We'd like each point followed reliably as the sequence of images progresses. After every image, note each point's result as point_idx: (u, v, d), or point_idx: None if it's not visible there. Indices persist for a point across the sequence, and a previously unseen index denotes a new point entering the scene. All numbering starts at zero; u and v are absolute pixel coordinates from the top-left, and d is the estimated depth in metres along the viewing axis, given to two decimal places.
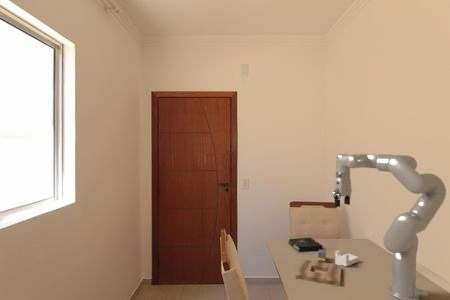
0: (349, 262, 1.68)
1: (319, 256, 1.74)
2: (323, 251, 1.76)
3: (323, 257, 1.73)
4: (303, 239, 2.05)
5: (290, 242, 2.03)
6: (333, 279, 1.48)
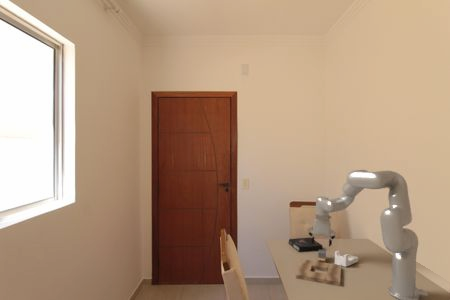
0: (349, 262, 1.68)
1: (319, 256, 1.74)
2: (323, 251, 1.76)
3: (323, 257, 1.73)
4: (303, 239, 2.05)
5: (290, 242, 2.03)
6: (333, 279, 1.48)
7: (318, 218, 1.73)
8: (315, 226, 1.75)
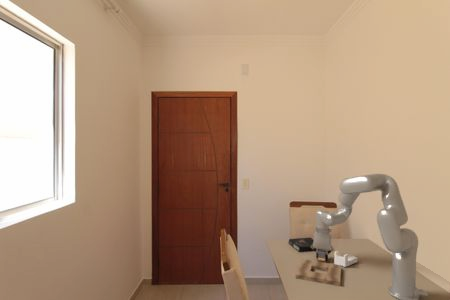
0: (348, 262, 1.68)
1: (319, 256, 1.74)
2: (323, 251, 1.76)
3: (323, 257, 1.73)
4: (303, 239, 2.05)
5: (290, 242, 2.03)
6: (333, 279, 1.48)
7: (318, 231, 1.73)
8: (315, 239, 1.75)
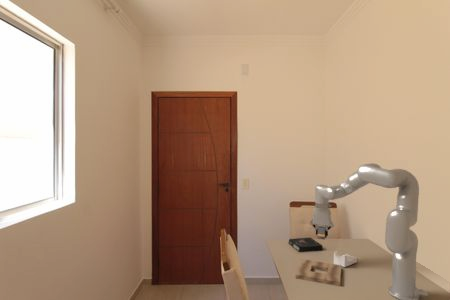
0: (347, 263, 1.67)
1: (318, 232, 1.68)
2: (323, 227, 1.71)
3: (323, 233, 1.68)
4: (303, 239, 2.05)
5: (290, 242, 2.03)
6: (333, 279, 1.48)
7: (317, 207, 1.68)
8: (315, 215, 1.70)
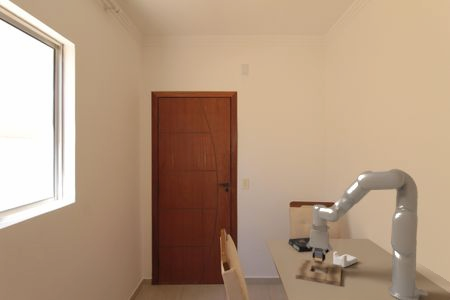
0: (347, 263, 1.67)
1: (316, 256, 1.57)
2: (320, 250, 1.59)
3: (320, 257, 1.56)
4: (303, 239, 2.05)
5: (290, 242, 2.03)
6: (333, 279, 1.48)
7: (315, 228, 1.57)
8: (312, 237, 1.58)
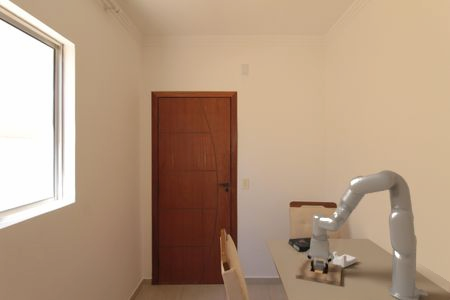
0: (347, 263, 1.67)
1: (316, 268, 1.57)
2: (320, 262, 1.59)
3: (320, 269, 1.56)
4: (303, 239, 2.05)
5: (290, 242, 2.03)
6: (333, 279, 1.48)
7: (315, 238, 1.57)
8: (312, 247, 1.58)
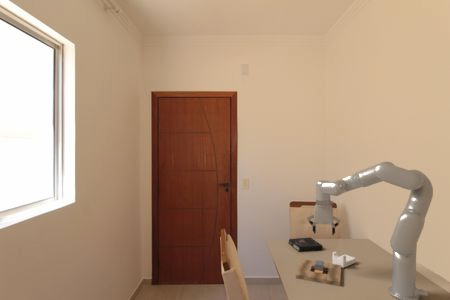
0: (346, 263, 1.67)
1: (316, 268, 1.57)
2: (320, 262, 1.59)
3: (320, 269, 1.56)
4: (303, 239, 2.05)
5: (290, 242, 2.03)
6: (333, 279, 1.48)
7: (319, 204, 1.57)
8: (316, 213, 1.58)
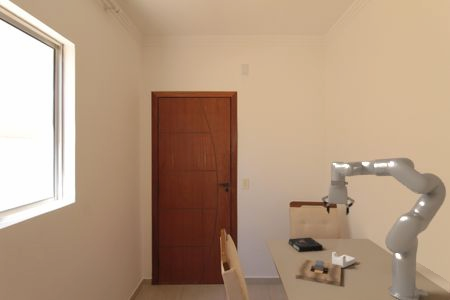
0: (346, 263, 1.66)
1: (316, 268, 1.57)
2: (320, 262, 1.59)
3: (320, 269, 1.56)
4: (303, 239, 2.05)
5: (290, 242, 2.03)
6: (333, 279, 1.48)
7: (334, 184, 1.60)
8: (330, 193, 1.61)
